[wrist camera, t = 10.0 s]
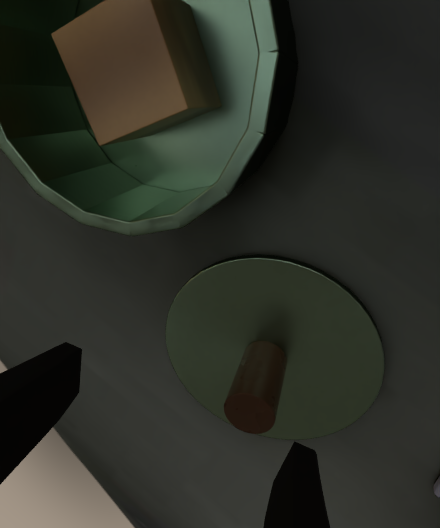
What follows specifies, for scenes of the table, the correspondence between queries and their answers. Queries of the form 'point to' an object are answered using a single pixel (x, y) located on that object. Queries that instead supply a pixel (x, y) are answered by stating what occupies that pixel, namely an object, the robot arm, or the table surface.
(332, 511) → the table surface
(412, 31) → the table surface
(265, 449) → the table surface
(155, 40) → the block
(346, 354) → the lid
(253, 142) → the bowl
